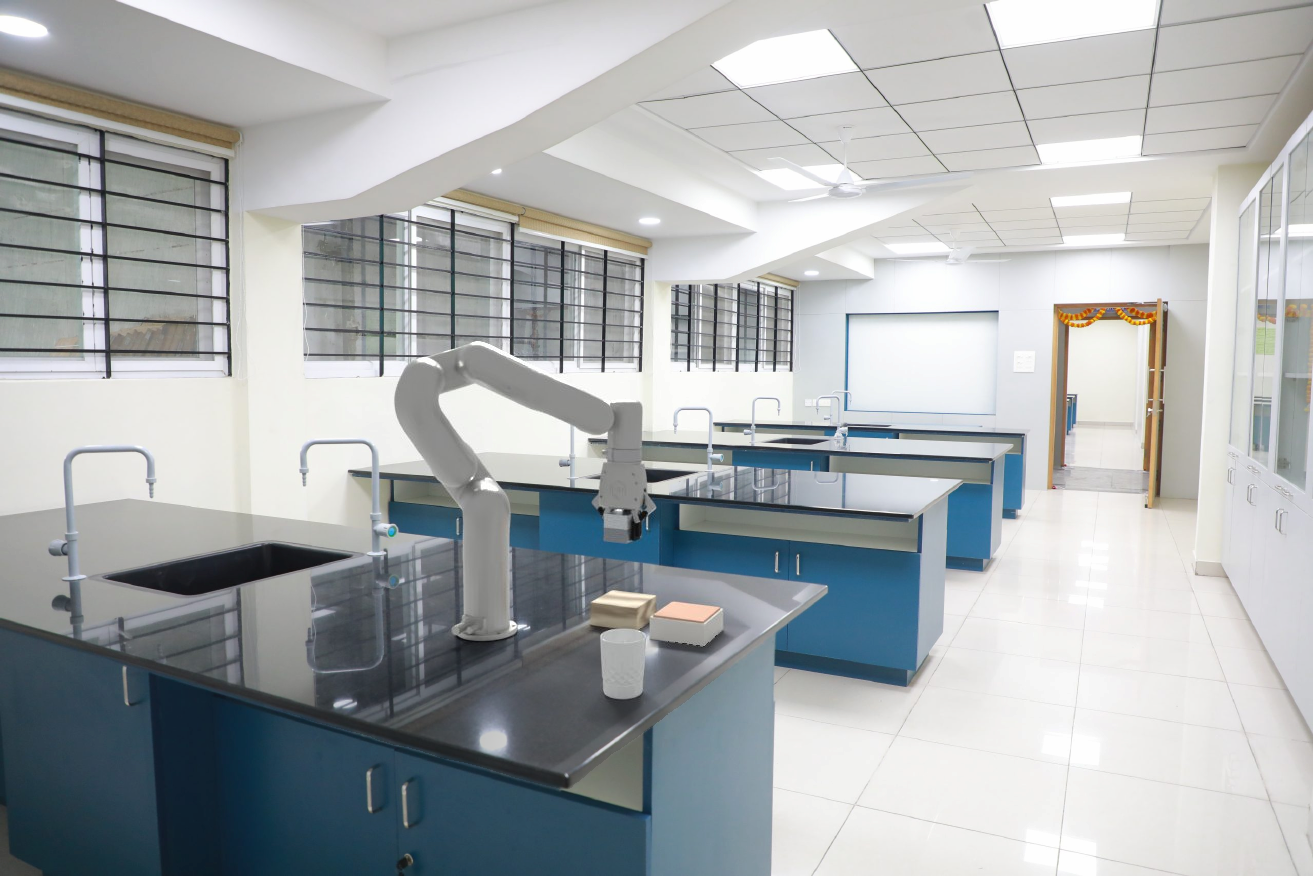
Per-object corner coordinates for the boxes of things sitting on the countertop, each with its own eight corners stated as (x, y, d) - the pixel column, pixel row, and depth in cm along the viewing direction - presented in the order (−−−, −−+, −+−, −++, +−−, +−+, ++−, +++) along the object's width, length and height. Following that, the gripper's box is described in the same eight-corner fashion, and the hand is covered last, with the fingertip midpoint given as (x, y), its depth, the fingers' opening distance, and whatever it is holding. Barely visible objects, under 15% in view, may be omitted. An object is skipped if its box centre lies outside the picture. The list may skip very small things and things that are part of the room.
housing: (626, 543, 178) (627, 510, 178) (603, 541, 180) (604, 508, 180) (641, 537, 186) (642, 505, 185) (619, 534, 188) (619, 503, 187)
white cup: (621, 680, 150) (621, 625, 149) (655, 691, 145) (655, 634, 144) (590, 693, 144) (590, 636, 143) (624, 705, 139) (625, 646, 138)
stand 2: (704, 646, 168) (704, 622, 168) (649, 639, 173) (649, 615, 172) (722, 629, 179) (723, 607, 179) (670, 622, 184) (671, 600, 183)
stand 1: (636, 631, 177) (636, 608, 177) (590, 624, 182) (590, 602, 181) (656, 617, 188) (656, 595, 187) (612, 611, 192) (612, 590, 191)
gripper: (581, 455, 181) (580, 537, 183) (654, 460, 175) (652, 545, 176) (596, 452, 188) (595, 532, 190) (667, 457, 182) (665, 539, 183)
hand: (622, 537), depth 183 cm, fingers closed on housing, 5 cm apart
